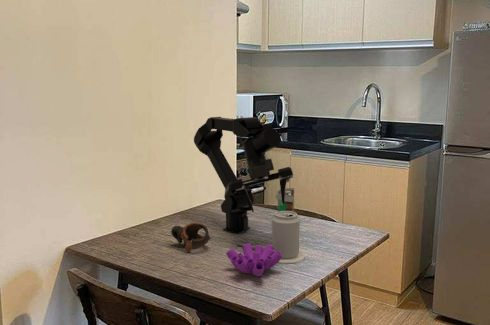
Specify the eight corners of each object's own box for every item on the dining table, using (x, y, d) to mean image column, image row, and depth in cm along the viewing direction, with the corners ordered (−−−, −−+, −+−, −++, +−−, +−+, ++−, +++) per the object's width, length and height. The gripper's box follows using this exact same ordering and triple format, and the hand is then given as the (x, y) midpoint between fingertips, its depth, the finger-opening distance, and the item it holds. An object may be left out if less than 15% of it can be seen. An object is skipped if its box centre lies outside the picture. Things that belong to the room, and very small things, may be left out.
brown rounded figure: (212, 243, 149) (215, 224, 144) (202, 266, 142) (204, 247, 137) (174, 231, 150) (176, 212, 145) (162, 253, 143) (164, 234, 138)
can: (294, 261, 132) (295, 218, 130) (267, 257, 135) (268, 215, 132) (302, 252, 138) (303, 211, 136) (277, 248, 141) (277, 208, 139)
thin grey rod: (236, 245, 145) (236, 242, 145) (238, 244, 146) (238, 241, 146) (269, 253, 139) (269, 250, 139) (271, 252, 140) (271, 249, 139)
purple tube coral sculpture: (230, 291, 122) (213, 256, 125) (268, 273, 134) (251, 241, 136) (259, 275, 115) (240, 238, 118) (295, 257, 127) (278, 224, 129)
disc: (260, 258, 135) (260, 257, 135) (279, 248, 143) (279, 246, 143) (293, 266, 130) (293, 264, 130) (310, 255, 138) (310, 253, 138)
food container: (276, 214, 178) (277, 187, 176) (293, 214, 177) (294, 187, 175) (273, 224, 166) (274, 195, 164) (292, 225, 165) (292, 196, 163)
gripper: (222, 160, 140) (234, 214, 137) (286, 144, 139) (300, 197, 136) (226, 166, 150) (238, 216, 148) (285, 151, 150) (299, 201, 147)
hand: (268, 208), depth 144 cm, fingers open, 9 cm apart
